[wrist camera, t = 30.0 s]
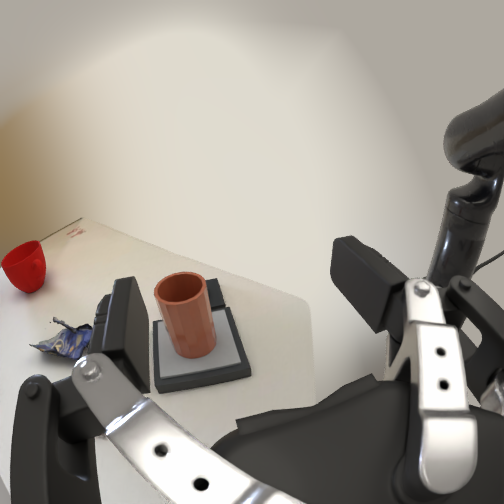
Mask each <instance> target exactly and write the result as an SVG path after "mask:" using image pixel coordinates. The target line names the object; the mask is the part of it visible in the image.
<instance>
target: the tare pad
mask: <svg viewBox="0 0 504 504" xmlns="http://www.w3.org/2000/svg"><path fill="white" fill-rule="evenodd" d="M205 282H206V286H207V291H208V297H209V302H210V307H211V310H216V309H221V308H225V302H224V299H223V296H222V293H221V290H220V286H219V283H218V280H217V278H215V279H210V280H205Z"/></svg>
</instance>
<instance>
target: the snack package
mask: <svg viewBox="0 0 504 504" xmlns="http://www.w3.org/2000/svg"><path fill="white" fill-rule="evenodd" d="M53 321H54V322H57V324H59V323H60V324H62V325H63V326H65V327H66V328H67V329H62V330H61V331H60V332H59V333H58V335H56V336H55V337H53V338H51V339H50V340H47V341H41V342H39V344H38V345H33V344H32V345H30V346H33V347H35V348H37V349H39V350H40V351H42V352H46V353H50V354H53V355H56V356H62V357H68V358H72V359H74V360H78V361H79V360H80V359H81V356H82V352H83V349H84V347H85V346H86V347H88V344H89V342H90V337H91V332H92V327H91V326H90V325H89V324H85V325H82V326H79V327H78V328H73V327H70V326H69V325H66V324H65V322H64V321H62V320H61V321H59V320H58V319H57V318H55V317H53ZM50 323H51V322H50Z"/></svg>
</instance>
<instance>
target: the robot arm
mask: <svg viewBox="0 0 504 504" xmlns="http://www.w3.org/2000/svg"><path fill="white" fill-rule="evenodd" d="M443 145H444V152H445V155H446V158H447V160H448V161H449V163H450V164H451V165H452V166H453V167H455V168H456V169H458V170H459V171H462V172H465V173H469V174H473V175H474V177H473V179H472V180H471V181H470V182H469V183H468V184H466V185H464V186H460V187H457V188H453V189H451V190H450V191H449V192H448V195H447V199H446V204H445V209H444V214H443V218H442V223H441V227H440V231H439V235H438V240H437V243H436V247H435V250H434V254H433V258H432V261H431V264H430V267H429V271H428V274H427V276H426V280H425V279H422V278H411V279H409V278H408V277H407V276H406V275H404V274H403V273H402V272H401V271H400V270H399V269H397V268H396V267H395V266H394V265H393V264H391V262H389V261H388V260H387V259H386V258H385V257H382V255H381V254H380V253H379V252H377V251H376V250H375V249H373V248H371V247H368V246H366V245H364V244H363V243H361V242H360V241H359V240H358V239H356V238H355V237H354V236H346V237H341V238H336V239H335V240H334V242H333V250H332V260H331V267H330V275H331V278H332V281H333V283H334V284H335V286H336V287H337V288H338V289H339V290H340V291H341V293H342V294H343V295H344V296H345V297H346V299H347V300H348V301H349V302H350V303H351V304H352V306H353V307H354V308H355V309H356V310H357V312H358V313H359V314H360V315H361V316H362V318H363V319H364V320H365V321H366V323H367V324H368V325H369V326H370V327H371V329H372V330H373V331H374V332H375V333H376V334H377V333H379V332H381V331H384V330H388V335H387V338H386V359H385V374H384V378H383V381H377V380H376V379H375V377H374V376H373V375H372V374H369V375H367V376H365V377H362V378H360V379H358V380H356V381H354V382H351V383H349V384H346V385H344V386H342V387H341V388H339V389H338V390H337V391H335V392H334V393H332V394H331V395H330V396H328V397H327V398H325V399H324V400H322V401H321V402H319V403H318V404H316V405H314V406H311V407H304V408H294V409H282V410H272V411H268V412H264V413H261V414H257V415H253V416H249V417H245V418H241V419H236V424H237V427H238V429H236V430H234V431H232V432H230V433H228V434H227V435H225V436H224V437H222V438H221V439H220V440H218V441H217V442H216V443H215V444H214V445H213V446H212V447H211V448H208V447H207V446H206V445H204V444H203V443H202V442H200V441H199V440H198V439H197V438H195V437H194V436H193V435H192V434H190V433H189V432H188V431H187V430H185V429H184V428H183V427H182V426H181V425H179V424H178V423H177V422H176V421H175V420H174V419H172V418H171V417H170V416H169V415H168V414H167V413H166V412H164V411H163V410H162V409H161V408H160V407H159V406H158V405H157V404H156V403H155V402H154V401H152V400H151V399H150V398H148V397H147V398H146V397H144V396H143V395H142V394H145V393H150V376H149V319H148V313H147V310H146V306H145V304H144V301H143V298H142V295H141V293H140V290H139V287H138V284H137V281H136V279H135V277H134V276H132V277H127V278H121V279H116V280H115V281H114V285H113V290H112V294H108V295H105V296H104V297H103V299H102V300H101V301H100V303H99V304H98V307H97V311H96V317H95V319H94V325H93V328H92V332H91V337H90V342H89V347H88V353H87V355H86V356H84V357H83V358H81V359H80V360H79V361H78V362H77V363H76V364H75V366H74V368H73V371H72V376H69V377H67V378H64V379H62V380H59V381H57V382H54V383H51V382H50V381H49V380H48V379H47V378H46V377H45V376H43V375H33V376H31V377H29V378H28V379H26V380H25V381H24V383H23V384H22V386H21V388H20V390H19V394H18V400H17V405H16V411H15V418H14V425H13V434H12V445H11V462H10V489H11V504H102V503H101V497H100V491H99V483H98V475H97V466H96V454H95V436H98V435H101V434H104V433H105V434H106V435H107V437H108V438H109V439H110V441H111V442H112V443H113V444H114V445H115V447H116V448H117V449H118V450H119V451H120V453H121V454H122V455H123V456H124V457H125V458H126V459H127V461H128V462H129V463H130V464H131V465H132V466H133V467H134V468H135V469H136V470H137V471H138V472H139V473H140V474H141V475H142V476H143V478H144V479H145V480H146V481H147V482H149V483H150V484H151V485H152V486H153V487H154V488H155V489H156V490H157V491H158V492H159V493H160V494H161V495H162V496H163V497H165V498H166V499H167V500H168V501H169V502H170V503H171V504H504V310H503V309H502V308H501V307H500V306H499V305H498V304H497V303H496V302H495V301H494V300H493V299H492V298H490V296H488V295H487V294H486V293H485V292H484V291H483V290H482V289H481V288H480V287H479V286H478V285H476V284H475V283H474V282H473V281H472V280H471V278H472V275H473V274H474V273H475V272H476V271H478V270H479V269H480V268H482V267H483V266H485V265H487V264H489V263H491V262H492V261H494V260H496V259H497V258H498V257H500V256H502V255H503V254H504V251H502V252H501V253H499V254H498V255H496V256H494V257H493V258H491V259H489V260H487V261H486V262H484V263H482V264H480V265H478V266H477V267H476V265H477V262H478V259H479V256H480V253H481V250H482V247H483V244H484V241H485V237H486V234H487V231H488V227H489V224H490V220H491V216H492V214H493V212H494V211H495V209H496V207H497V204H498V201H499V197H500V193H501V189H502V185H503V181H504V89H502V90H501V91H499V92H498V93H496V94H495V95H493V96H492V97H491V98H489V99H488V100H486V101H485V102H483V103H482V104H480V105H478V106H476V107H474V108H472V109H470V110H468V111H465V112H463V113H461V114H459V115H457V116H456V117H455V118H453V120H452V121H451V122H450V123H449V125H448V127H447V129H446V132H445V135H444V143H443ZM466 317H467V318H469V320H470V321H471V322H472V323H473V324H474V325H475V326H476V327H477V328H478V329H479V330H480V332H481V334H482V342H481V344H480V345H479V347H478V348H477V347H476V346H475V344H474V343H473V342H472V341H471V340H470V339H469V338H468V337H467V335H466V334H465V333H464V332H463V331H462V330H461V327H462V325H463V323H464V321H465V319H466ZM467 386H468V388H469V389H470V391H471V392H472V393H473V395H474V396H475V398H476V399H477V401H478V402H479V403H480V405H481V407H480V408H479V407H476V406H473V405H469V402H468V391H467Z"/></svg>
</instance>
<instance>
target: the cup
mask: <svg viewBox="0 0 504 504" xmlns="http://www.w3.org/2000/svg"><path fill="white" fill-rule="evenodd" d="M154 296H155V299H156V302H157V305H158V308H159V311H160V314H161V317H162V320H163V322H164V325H165V328H166V331H167V333H168V336H169V339H170V341H171V344H172V346H173V348H174V350H175V352H176V353H177V354H178V355H180V356H182V357H184V358H189V359H195V358H200V357H203V356H205V355H207V354H209V353H210V352H211V351H212V350H213V349H214V347H215V346H216V342H217V336H216V332H215V327H214V322H213V317H212V312H211V307H210V302H209V297H208V291H207V286H206V282H205V279H204V278H203V277H202V276H201V275H199V274H196V273H193V272H179V273H174V274H171V275H169V276H167V277H165V278H163V279H162V280H161V281H159V282H158V284H157V285H156V287H155V289H154Z"/></svg>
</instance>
